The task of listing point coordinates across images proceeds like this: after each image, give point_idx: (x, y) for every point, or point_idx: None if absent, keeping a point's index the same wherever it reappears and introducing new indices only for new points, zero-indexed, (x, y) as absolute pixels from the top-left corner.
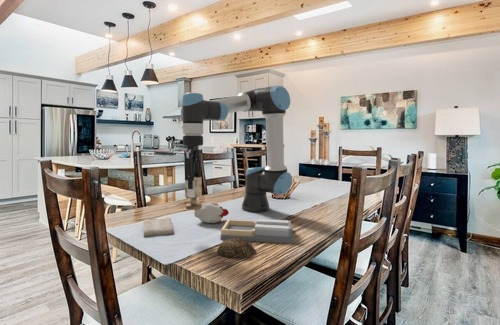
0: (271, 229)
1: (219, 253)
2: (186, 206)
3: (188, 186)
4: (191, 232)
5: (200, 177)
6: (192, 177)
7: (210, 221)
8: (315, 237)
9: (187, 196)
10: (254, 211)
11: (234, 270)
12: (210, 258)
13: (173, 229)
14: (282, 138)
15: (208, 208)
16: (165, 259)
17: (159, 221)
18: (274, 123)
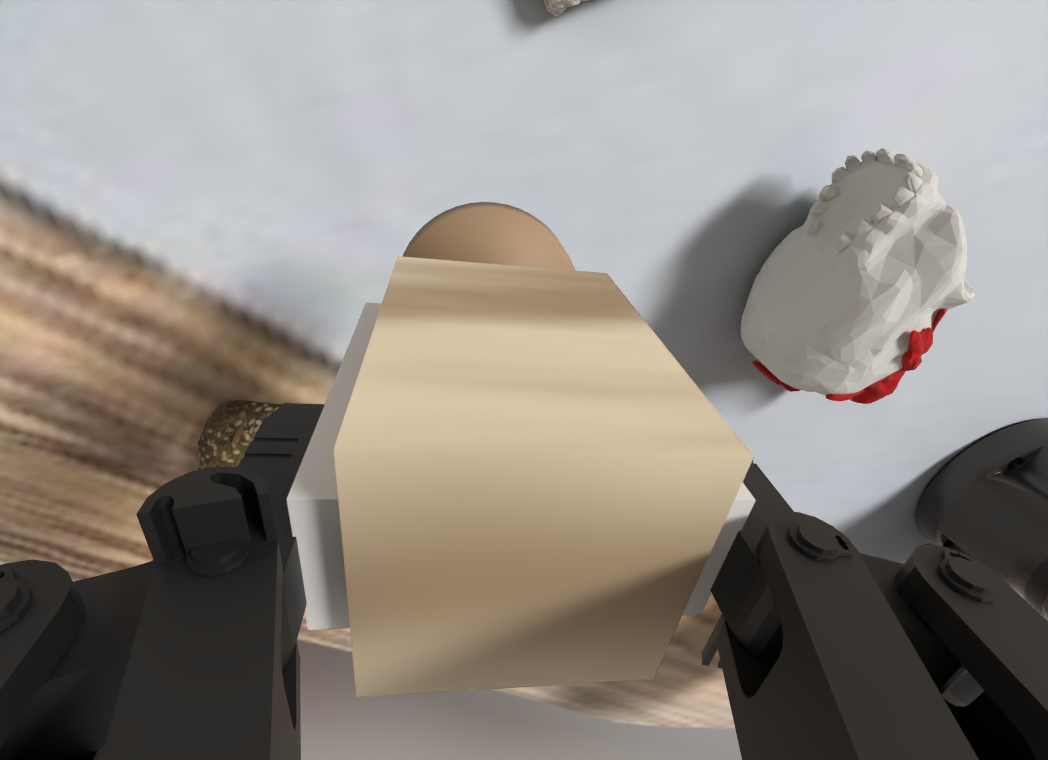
0: None
1: (208, 419)
2: (423, 232)
3: (256, 444)
4: (579, 173)
5: (603, 677)
6: (84, 752)
7: (752, 287)
8: None
9: (363, 309)
10: (929, 488)
11: (76, 489)
12: (160, 377)
13: (572, 4)
14: None
15: (835, 306)
16: (6, 106)
17: None
18: None
